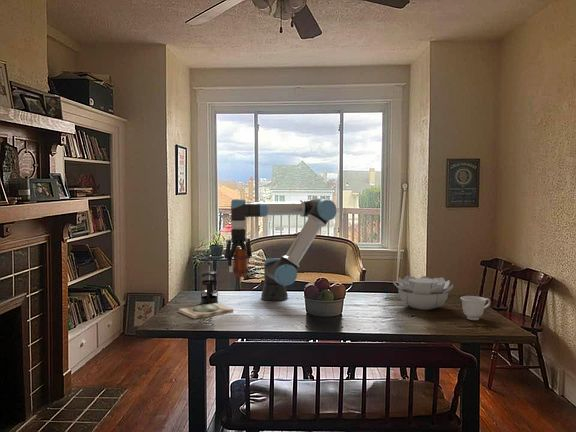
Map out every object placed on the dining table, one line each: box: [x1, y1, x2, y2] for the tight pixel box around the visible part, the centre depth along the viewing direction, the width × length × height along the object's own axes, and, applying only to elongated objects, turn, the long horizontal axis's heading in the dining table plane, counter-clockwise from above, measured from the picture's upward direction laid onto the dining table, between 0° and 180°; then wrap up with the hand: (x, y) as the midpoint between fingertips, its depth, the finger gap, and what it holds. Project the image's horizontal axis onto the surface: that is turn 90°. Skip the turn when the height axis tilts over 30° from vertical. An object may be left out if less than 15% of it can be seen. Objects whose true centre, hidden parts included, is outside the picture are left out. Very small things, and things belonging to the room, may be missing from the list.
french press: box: [200, 260, 219, 305], centre depth 275 cm, size 12×9×23 cm
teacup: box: [460, 295, 492, 321], centre depth 244 cm, size 12×15×10 cm
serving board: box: [178, 303, 234, 320], centre depth 255 cm, size 22×17×2 cm
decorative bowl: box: [392, 275, 454, 311], centre depth 266 cm, size 30×30×15 cm
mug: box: [232, 246, 250, 278], centre depth 265 cm, size 15×8×15 cm, turn 17°
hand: (238, 271), depth 265 cm, fingers closed on mug, 8 cm apart
